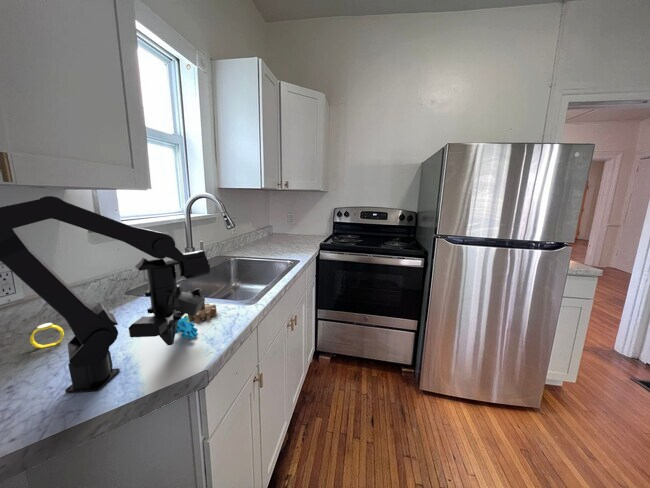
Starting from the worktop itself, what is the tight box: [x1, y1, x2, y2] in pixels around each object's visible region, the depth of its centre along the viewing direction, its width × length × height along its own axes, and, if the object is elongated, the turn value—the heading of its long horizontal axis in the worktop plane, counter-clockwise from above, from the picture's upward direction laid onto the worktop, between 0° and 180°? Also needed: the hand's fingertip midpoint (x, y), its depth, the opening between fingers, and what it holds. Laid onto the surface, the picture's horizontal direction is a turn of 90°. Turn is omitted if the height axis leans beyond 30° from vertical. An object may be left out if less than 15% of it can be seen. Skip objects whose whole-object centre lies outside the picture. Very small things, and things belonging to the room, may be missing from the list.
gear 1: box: [175, 314, 199, 340], centre depth 72 cm, size 11×6×10 cm
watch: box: [29, 322, 65, 350], centre depth 69 cm, size 6×3×6 cm, turn 125°
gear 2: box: [187, 301, 218, 323], centre depth 85 cm, size 9×9×6 cm
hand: (170, 344), depth 66 cm, fingers closed
